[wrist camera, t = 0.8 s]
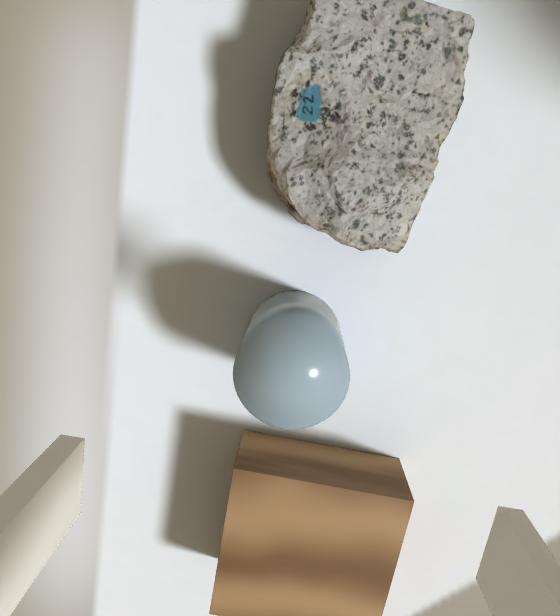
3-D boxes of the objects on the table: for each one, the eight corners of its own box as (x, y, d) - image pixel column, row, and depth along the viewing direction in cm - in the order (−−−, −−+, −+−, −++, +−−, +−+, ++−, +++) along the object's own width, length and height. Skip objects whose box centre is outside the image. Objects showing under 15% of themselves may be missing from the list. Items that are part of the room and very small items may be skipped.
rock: (310, -22, 26) (316, -73, 21) (473, 38, 26) (516, 3, 21) (240, 207, 28) (230, 210, 24) (389, 257, 29) (410, 270, 24)
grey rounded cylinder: (255, 284, 30) (241, 311, 23) (347, 298, 30) (360, 330, 23) (243, 370, 32) (226, 419, 25) (331, 384, 32) (338, 437, 25)
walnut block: (243, 427, 33) (233, 468, 28) (398, 455, 33) (414, 501, 28) (222, 556, 36) (209, 613, 31) (364, 582, 36) (373, 644, 31)
